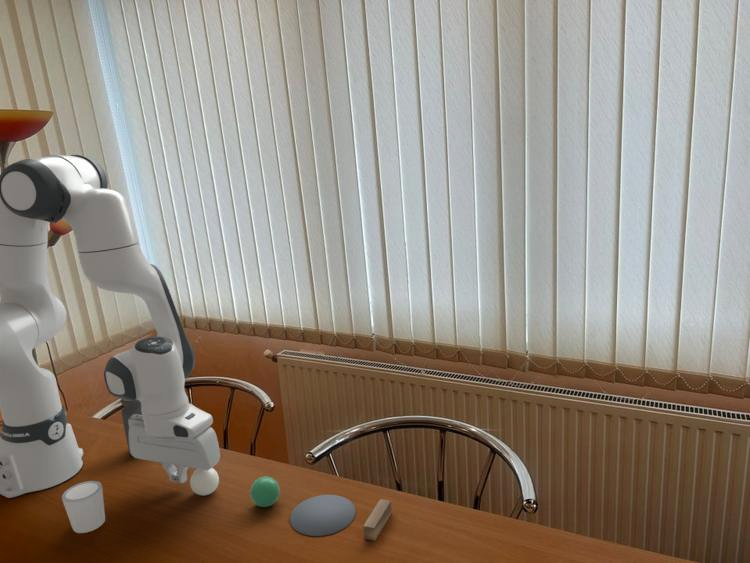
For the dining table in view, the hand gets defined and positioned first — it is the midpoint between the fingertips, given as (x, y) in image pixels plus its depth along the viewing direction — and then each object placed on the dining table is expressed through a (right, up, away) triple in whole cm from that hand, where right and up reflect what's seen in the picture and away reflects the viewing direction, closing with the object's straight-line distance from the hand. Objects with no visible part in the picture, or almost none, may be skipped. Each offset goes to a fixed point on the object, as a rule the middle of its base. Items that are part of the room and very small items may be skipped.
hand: (179, 480), depth 123 cm
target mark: (+30, -2, -12) cm, 32 cm away
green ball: (+19, +1, -8) cm, 20 cm away
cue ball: (+6, +1, -3) cm, 6 cm away
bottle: (-14, +1, +17) cm, 22 cm away
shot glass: (-14, -5, -9) cm, 17 cm away
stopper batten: (+40, -3, -16) cm, 43 cm away
